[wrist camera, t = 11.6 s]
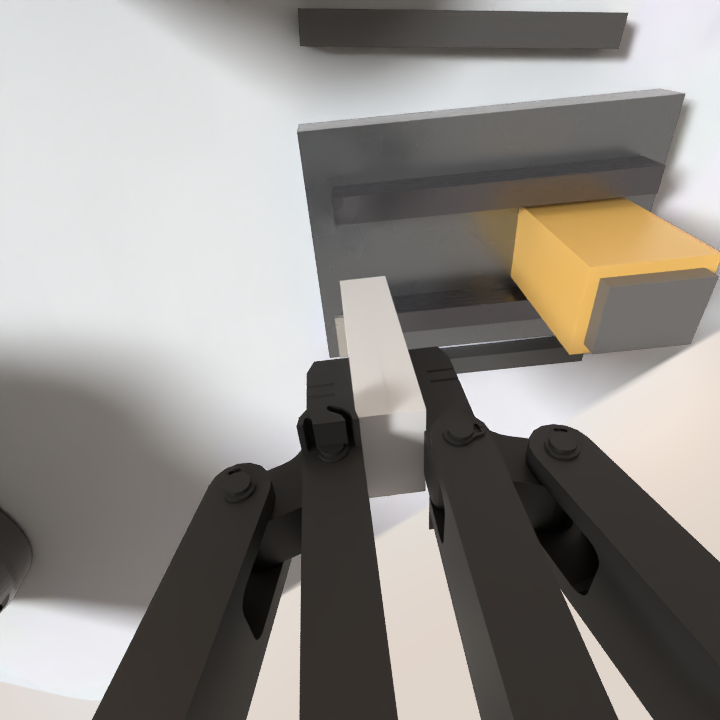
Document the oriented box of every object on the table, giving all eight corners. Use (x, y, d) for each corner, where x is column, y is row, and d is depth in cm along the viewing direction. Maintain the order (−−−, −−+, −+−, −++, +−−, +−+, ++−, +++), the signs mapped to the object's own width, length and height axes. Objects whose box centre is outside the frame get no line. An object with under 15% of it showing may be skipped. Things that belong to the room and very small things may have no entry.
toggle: (510, 276, 20) (577, 365, 15) (519, 203, 18) (600, 276, 13) (600, 267, 20) (698, 352, 15) (618, 193, 19) (738, 262, 13)
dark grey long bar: (352, 372, 25) (353, 384, 24) (351, 357, 24) (351, 369, 23) (573, 349, 25) (581, 360, 24) (576, 334, 24) (585, 345, 24)
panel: (329, 340, 24) (330, 376, 21) (298, 124, 18) (294, 140, 15) (600, 312, 24) (632, 345, 21) (660, 88, 18) (714, 98, 15)
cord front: (301, 45, 16) (300, 46, 15) (299, 9, 16) (298, 8, 15) (604, 47, 17) (618, 48, 16) (612, 13, 16) (627, 12, 15)
